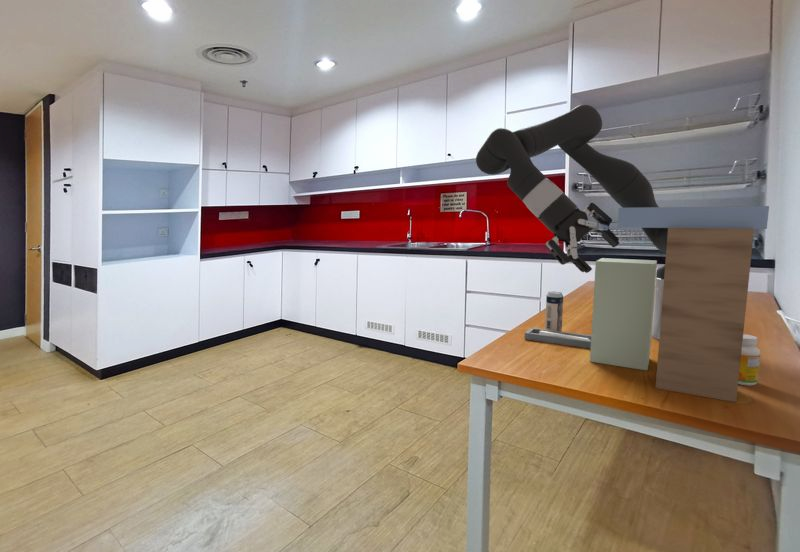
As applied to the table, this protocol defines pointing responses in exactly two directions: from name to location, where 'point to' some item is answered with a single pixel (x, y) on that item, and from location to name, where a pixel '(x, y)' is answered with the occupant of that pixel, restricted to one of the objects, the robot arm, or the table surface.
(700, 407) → the table surface
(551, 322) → the beer can
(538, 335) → the pen tray
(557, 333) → the white hexagonal pencil
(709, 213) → the blue block
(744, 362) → the supplement bottle
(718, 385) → the walnut stand
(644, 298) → the pale green tall block
